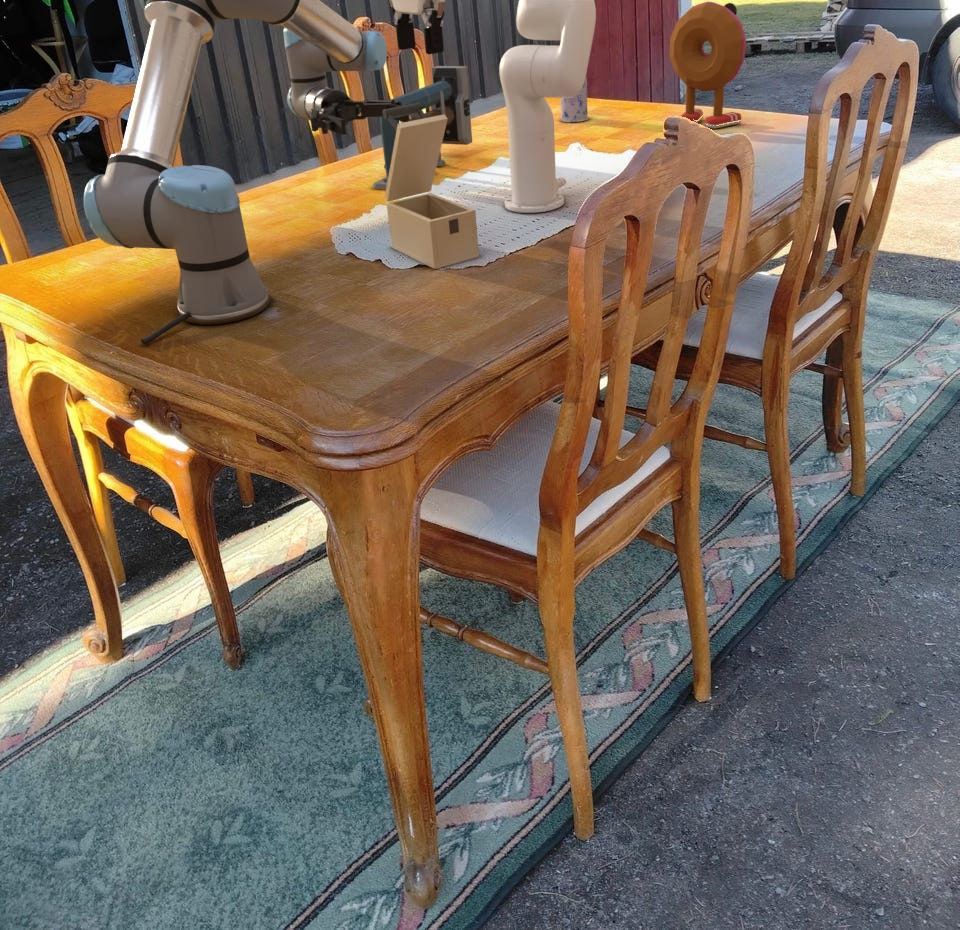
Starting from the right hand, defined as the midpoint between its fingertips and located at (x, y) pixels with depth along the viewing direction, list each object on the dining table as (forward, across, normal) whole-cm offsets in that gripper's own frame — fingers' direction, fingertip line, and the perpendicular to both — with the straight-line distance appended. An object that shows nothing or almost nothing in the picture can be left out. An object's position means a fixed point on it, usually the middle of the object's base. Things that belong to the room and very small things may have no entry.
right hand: (420, 50), depth 164 cm
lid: (+19, +6, 0) cm, 20 cm away
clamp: (+36, +59, -30) cm, 75 cm away
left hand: (+14, +21, 0) cm, 26 cm away
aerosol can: (+36, +77, -89) cm, 123 cm away
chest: (+36, +2, 0) cm, 36 cm away
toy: (+36, +42, -108) cm, 121 cm away
